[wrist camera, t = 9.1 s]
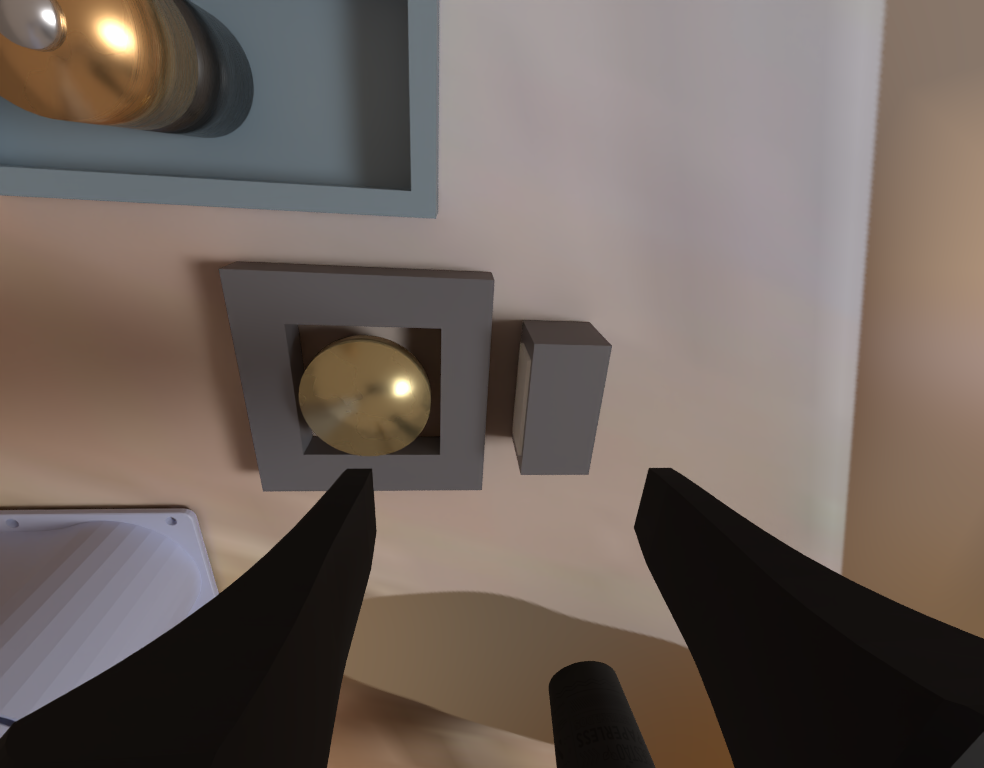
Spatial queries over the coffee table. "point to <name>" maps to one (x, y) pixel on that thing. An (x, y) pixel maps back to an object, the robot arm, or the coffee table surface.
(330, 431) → the disc
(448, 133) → the coffee table surface
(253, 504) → the coffee table surface
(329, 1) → the slate trough
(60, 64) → the battery cell
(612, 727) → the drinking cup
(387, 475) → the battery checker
